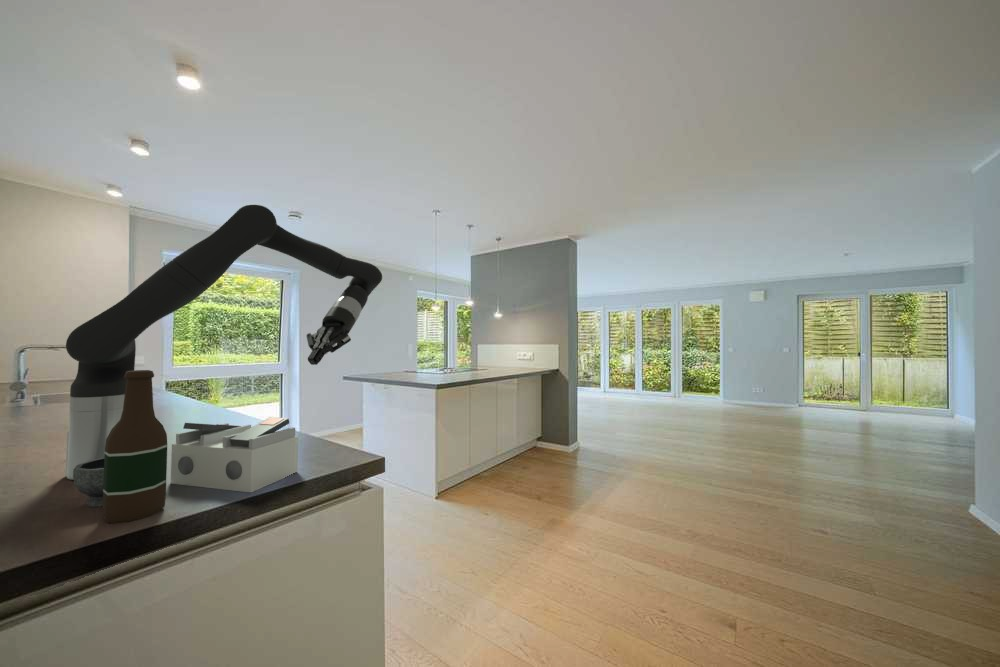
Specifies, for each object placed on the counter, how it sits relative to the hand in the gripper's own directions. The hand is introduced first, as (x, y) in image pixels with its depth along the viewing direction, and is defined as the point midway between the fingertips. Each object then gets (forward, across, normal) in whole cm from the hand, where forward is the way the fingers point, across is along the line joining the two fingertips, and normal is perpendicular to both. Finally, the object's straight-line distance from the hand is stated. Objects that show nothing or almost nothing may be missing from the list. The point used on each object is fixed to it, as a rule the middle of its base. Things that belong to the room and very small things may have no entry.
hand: (312, 362), depth 94 cm
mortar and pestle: (+37, -18, -5) cm, 42 cm away
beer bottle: (+40, -7, -7) cm, 41 cm away
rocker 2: (+20, 0, -1) cm, 20 cm away
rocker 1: (+20, -12, -1) cm, 23 cm away
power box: (+27, -6, +6) cm, 29 cm away
